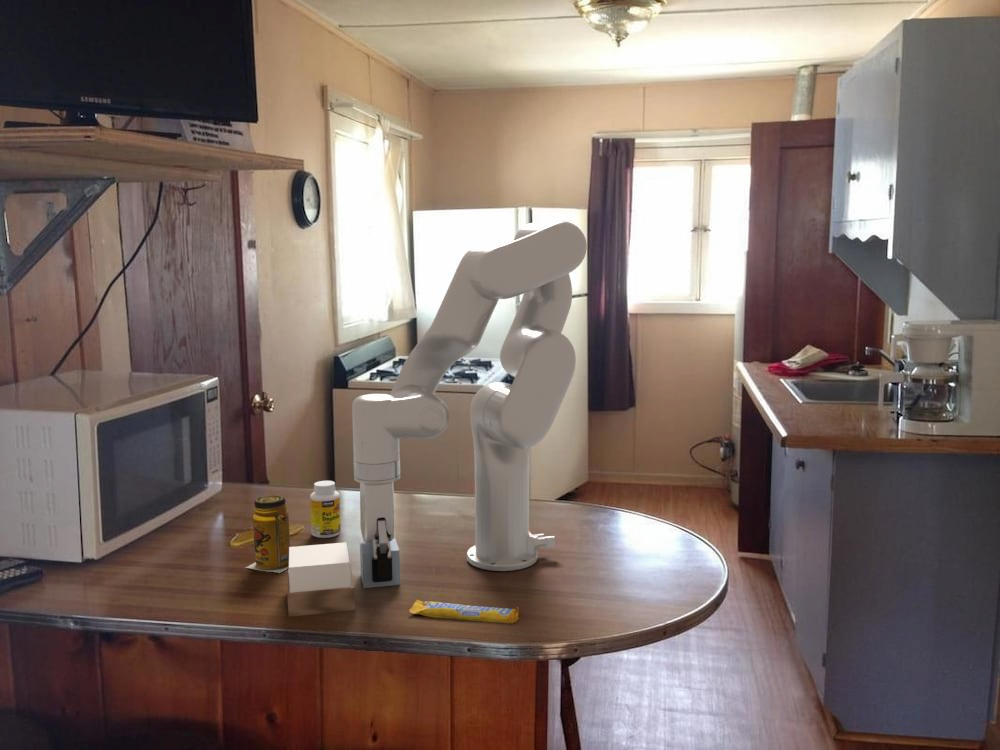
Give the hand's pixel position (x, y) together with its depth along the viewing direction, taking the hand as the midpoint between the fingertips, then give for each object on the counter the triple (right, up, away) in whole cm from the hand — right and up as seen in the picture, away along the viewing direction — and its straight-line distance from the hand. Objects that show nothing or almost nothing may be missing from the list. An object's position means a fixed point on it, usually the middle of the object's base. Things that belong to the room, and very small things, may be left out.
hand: (379, 570), depth 143 cm
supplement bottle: (-14, +2, +22) cm, 26 cm away
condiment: (-19, -1, +8) cm, 21 cm away
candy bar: (+15, -4, -13) cm, 21 cm away
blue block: (0, -2, 0) cm, 2 cm away
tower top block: (-8, +1, -9) cm, 12 cm away
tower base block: (-8, -3, -8) cm, 12 cm away
